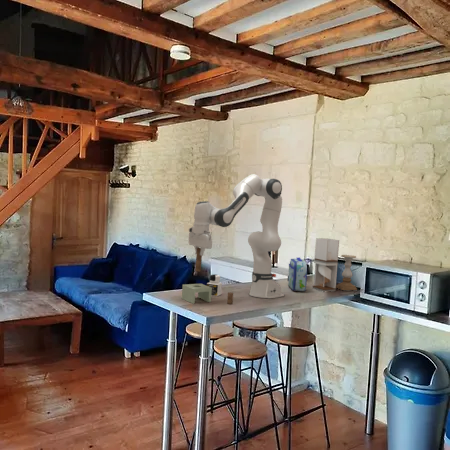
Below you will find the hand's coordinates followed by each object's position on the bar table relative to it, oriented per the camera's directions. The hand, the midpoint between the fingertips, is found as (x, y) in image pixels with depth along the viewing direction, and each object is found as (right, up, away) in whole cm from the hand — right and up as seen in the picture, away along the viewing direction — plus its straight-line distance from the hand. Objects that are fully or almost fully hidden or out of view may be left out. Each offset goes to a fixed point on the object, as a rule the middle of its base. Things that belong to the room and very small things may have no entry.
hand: (199, 255), depth 248 cm
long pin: (-1, -9, 0) cm, 9 cm away
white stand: (+82, -28, +58) cm, 104 cm away
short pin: (+17, -27, -1) cm, 32 cm away
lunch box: (+63, -27, +54) cm, 87 cm away
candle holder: (+99, -29, +64) cm, 122 cm away
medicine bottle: (+8, -25, +20) cm, 33 cm away
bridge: (-2, -26, +2) cm, 26 cm away
